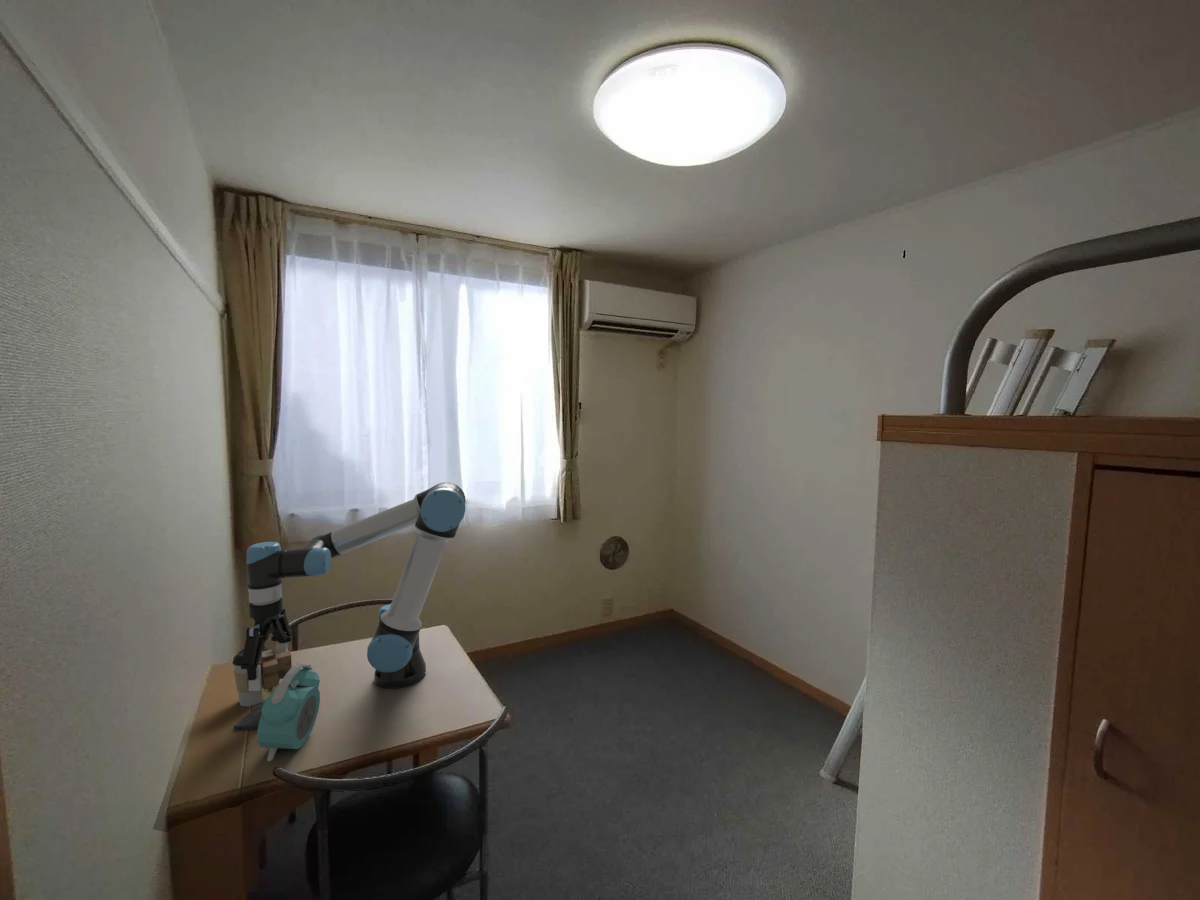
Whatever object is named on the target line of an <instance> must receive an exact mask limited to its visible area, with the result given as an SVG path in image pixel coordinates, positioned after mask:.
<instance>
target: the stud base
mask: <svg viewBox="0 0 1200 900" xmlns="http://www.w3.org/2000/svg"><path fill="white" fill-rule="evenodd" d="M278 686H279V685H278ZM278 686H275V687H272V688H268V689H265V688H263V687H262V694H263V701H262V702H261V703H259V704H257V705H255V707H254V708H252V709H251V710H250V711H249V712H248V713H247V714H246V715H244V717H243V716H242V718H241V719H239V721H237V722H236V723H235V724H234V725H233V727H232V728H233V730H255V731H256V730H257V731H258V726H259V721H260V718H261V715H262V711H261V709H262V707H263V705H264V703H265V701H266V699H267V698H268V697H269V696H270V695H272V693H273V692H274V691H275V689H276V688H278Z"/></svg>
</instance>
